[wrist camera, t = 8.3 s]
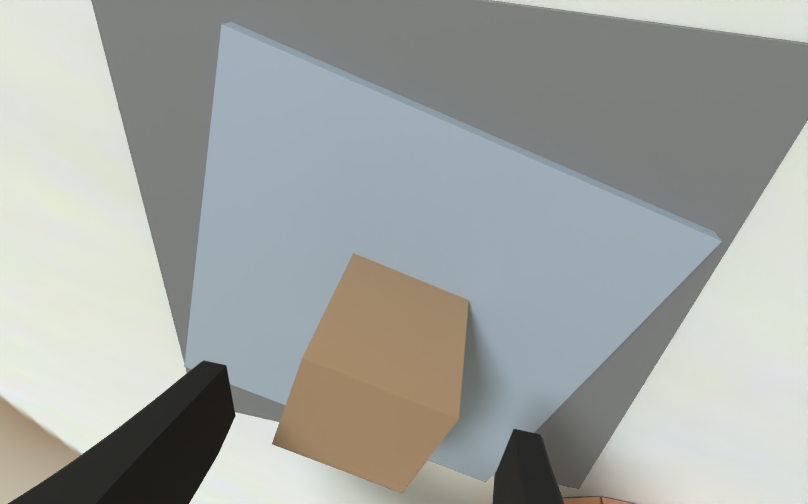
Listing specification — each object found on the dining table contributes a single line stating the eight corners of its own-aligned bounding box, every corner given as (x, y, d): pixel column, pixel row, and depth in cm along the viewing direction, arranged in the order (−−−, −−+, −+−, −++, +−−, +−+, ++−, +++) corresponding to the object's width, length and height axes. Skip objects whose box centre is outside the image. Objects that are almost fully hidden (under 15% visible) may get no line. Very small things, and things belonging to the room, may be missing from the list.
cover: (714, 231, 12) (822, 370, 8) (485, 471, 20) (482, 602, 16) (231, 22, 11) (82, 59, 7) (190, 357, 19) (108, 465, 15)
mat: (836, 46, 10) (850, 50, 10) (576, 478, 20) (578, 488, 20) (92, -54, 12) (77, -54, 11) (200, 394, 22) (194, 402, 21)
